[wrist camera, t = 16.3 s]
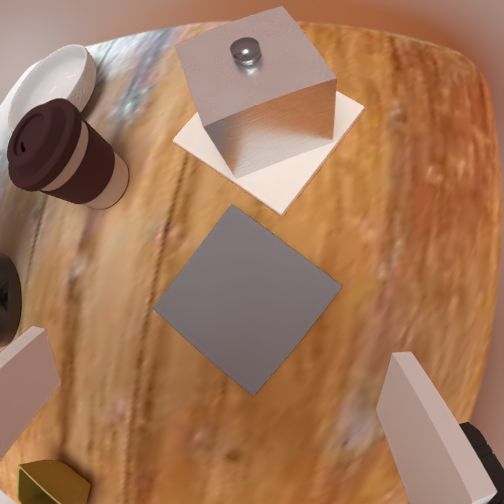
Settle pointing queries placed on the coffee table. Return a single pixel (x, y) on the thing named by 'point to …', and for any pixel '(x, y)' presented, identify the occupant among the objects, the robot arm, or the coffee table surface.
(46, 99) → the cereal bowl
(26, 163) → the coffee cup
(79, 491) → the flower pot
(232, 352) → the rubber mat
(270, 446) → the coffee table surface
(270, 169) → the serving board
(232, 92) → the metal cover
